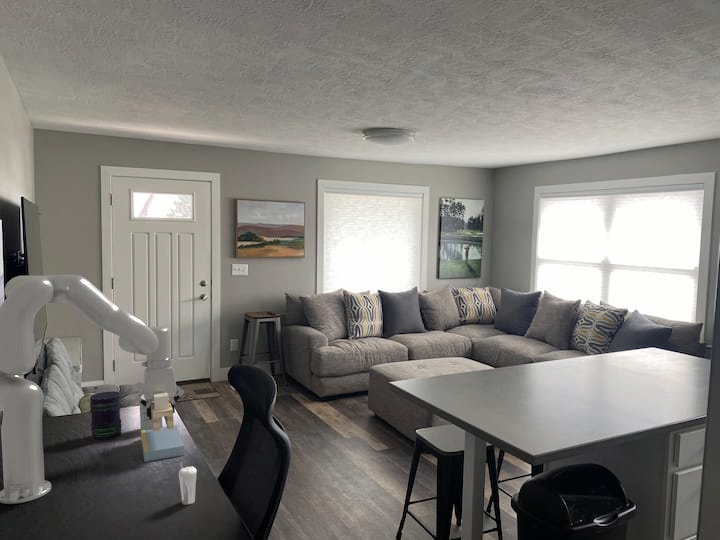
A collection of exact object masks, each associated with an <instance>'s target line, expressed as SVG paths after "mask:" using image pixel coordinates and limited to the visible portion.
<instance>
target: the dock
mask: <svg viewBox="0 0 720 540" xmlns="http://www.w3.org/2000/svg"><path fill="white" fill-rule="evenodd" d="M180 434H181V433H180V431H179V429H178V425H174V429H168V428H167V426H166V427H163V428H160V431H155V432H154V430H153V429H151V430H140V441H141V448H142V454H143V460H144V461H143V462H145V463H146V462H150V461H151V462H153V461H156V460H157V461H158V460H162V459H169V458H175V457H181V456H184V455H185V445H184V442H183V440H182V437H181V435H180Z"/></svg>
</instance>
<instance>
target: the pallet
mask: <svg viewBox="0 0 720 540" xmlns="http://www.w3.org/2000/svg"><path fill="white" fill-rule="evenodd" d="M168 399H169V398H168ZM150 406H151V415H152V419H151V421H152V426H153V430H154V432H155V431H160V422H159V417H162V418H164V421H165V426H166V427H167V428H168V429H174V426H175V424H174V422H175V421H174V413H173V409H172V406H171V403H170V399H169V409H162V410H155V409H154V400H152V402H151V404H150Z"/></svg>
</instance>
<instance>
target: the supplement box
mask: <svg viewBox="0 0 720 540" xmlns="http://www.w3.org/2000/svg"><path fill="white" fill-rule="evenodd" d="M141 398H142V399H144V400H145V401H147V400H146V399H145V398H144V394H143V395H142V396H141ZM139 419H140V422H139V423H140V424H139V425H140V431H142V430H151V429H153V426H152V421H151V420H149V417H147V408H146V407H145V406H144V405H142V404H141V403H140V402H139ZM159 422H160V428H164V425H163V424H164V423H163V417H159Z"/></svg>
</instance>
